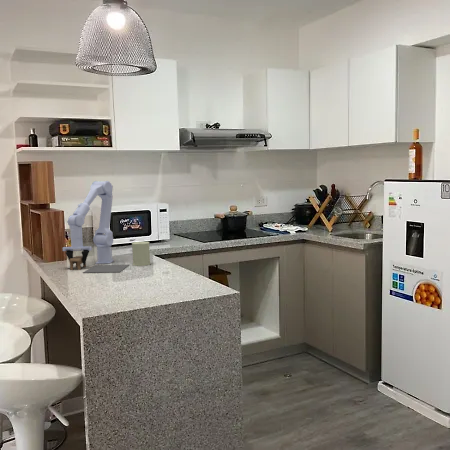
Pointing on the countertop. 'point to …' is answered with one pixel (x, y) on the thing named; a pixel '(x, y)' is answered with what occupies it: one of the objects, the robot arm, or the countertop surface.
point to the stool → (77, 260)
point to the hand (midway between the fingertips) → (78, 264)
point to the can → (141, 253)
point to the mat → (106, 269)
